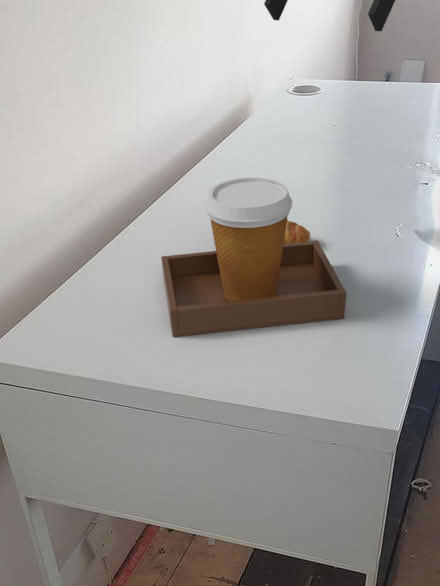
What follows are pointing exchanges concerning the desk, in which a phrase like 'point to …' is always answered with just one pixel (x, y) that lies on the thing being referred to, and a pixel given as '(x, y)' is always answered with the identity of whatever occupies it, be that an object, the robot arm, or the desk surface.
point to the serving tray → (251, 312)
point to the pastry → (295, 233)
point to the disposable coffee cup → (249, 234)
